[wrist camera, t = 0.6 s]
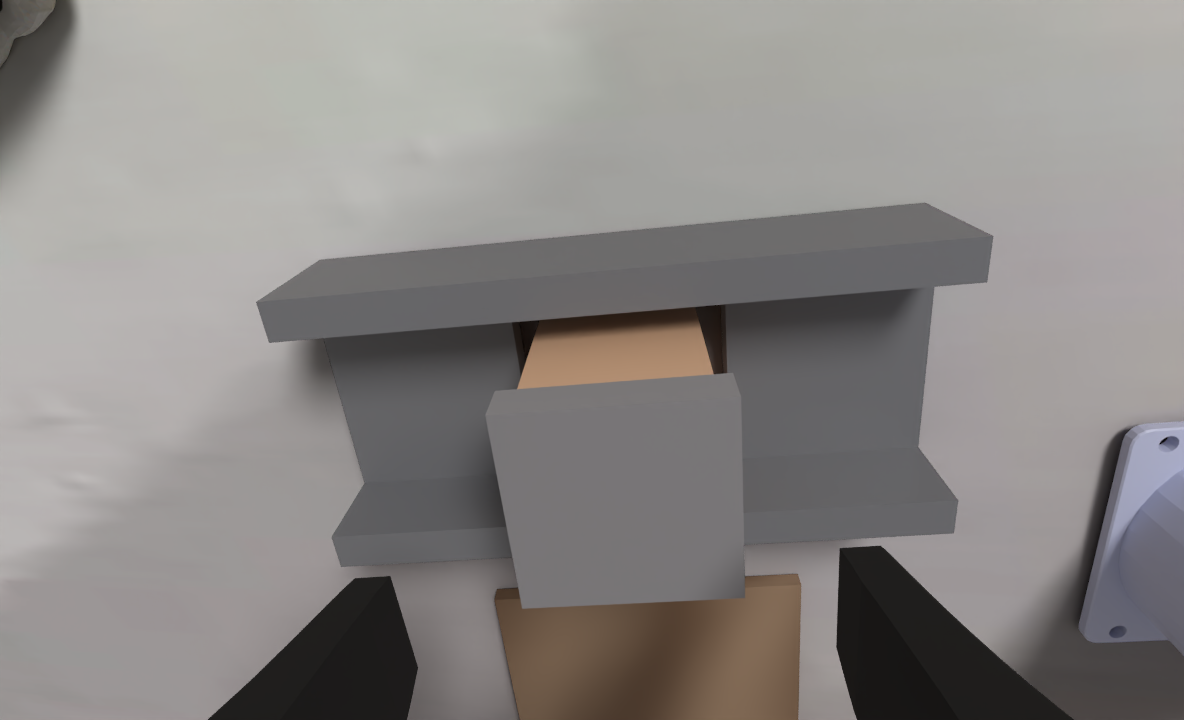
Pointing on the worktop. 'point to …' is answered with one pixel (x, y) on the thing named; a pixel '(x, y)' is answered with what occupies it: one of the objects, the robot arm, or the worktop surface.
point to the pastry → (20, 20)
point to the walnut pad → (658, 657)
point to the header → (632, 284)
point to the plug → (621, 464)
